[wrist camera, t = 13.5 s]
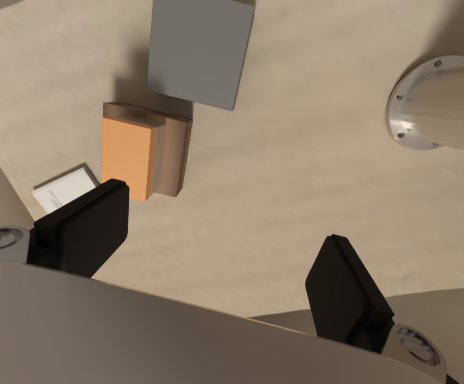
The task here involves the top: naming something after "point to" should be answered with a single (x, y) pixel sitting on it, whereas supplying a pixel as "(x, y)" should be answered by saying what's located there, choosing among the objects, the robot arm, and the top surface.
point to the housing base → (158, 147)
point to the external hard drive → (65, 189)
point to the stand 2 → (199, 49)
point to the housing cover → (129, 154)
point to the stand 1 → (173, 143)
